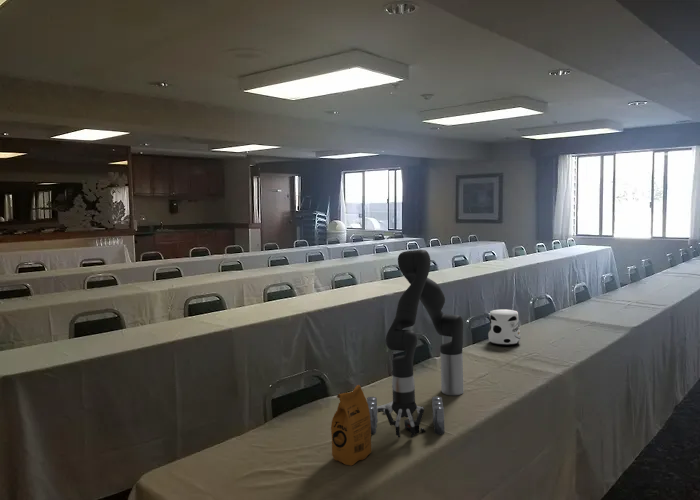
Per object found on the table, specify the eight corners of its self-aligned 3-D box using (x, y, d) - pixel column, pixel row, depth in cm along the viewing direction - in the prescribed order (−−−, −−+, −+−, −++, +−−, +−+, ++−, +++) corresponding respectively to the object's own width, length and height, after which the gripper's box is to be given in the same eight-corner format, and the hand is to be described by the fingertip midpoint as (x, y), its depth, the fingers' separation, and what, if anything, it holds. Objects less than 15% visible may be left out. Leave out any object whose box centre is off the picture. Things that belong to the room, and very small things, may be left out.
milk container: (526, 346, 286) (525, 313, 284) (496, 348, 283) (495, 316, 282) (512, 338, 303) (511, 308, 301) (483, 340, 301) (483, 310, 299)
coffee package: (327, 459, 167) (324, 392, 165) (353, 445, 176) (350, 381, 174) (350, 468, 160) (347, 399, 158) (376, 453, 169) (373, 387, 168)
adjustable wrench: (409, 394, 222) (409, 390, 222) (422, 397, 218) (422, 393, 218) (371, 412, 204) (371, 408, 204) (384, 416, 200) (384, 412, 200)
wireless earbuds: (414, 436, 181) (414, 427, 181) (403, 428, 188) (403, 420, 187) (426, 433, 183) (425, 424, 183) (414, 425, 190) (414, 417, 189)
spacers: (368, 419, 196) (367, 396, 196) (442, 419, 193) (441, 396, 192) (365, 434, 184) (364, 409, 183) (445, 434, 181) (444, 409, 180)
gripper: (424, 383, 180) (425, 431, 182) (383, 384, 182) (385, 431, 183) (424, 391, 173) (426, 441, 174) (382, 391, 174) (384, 441, 176)
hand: (405, 436), depth 179 cm, fingers open, 4 cm apart
